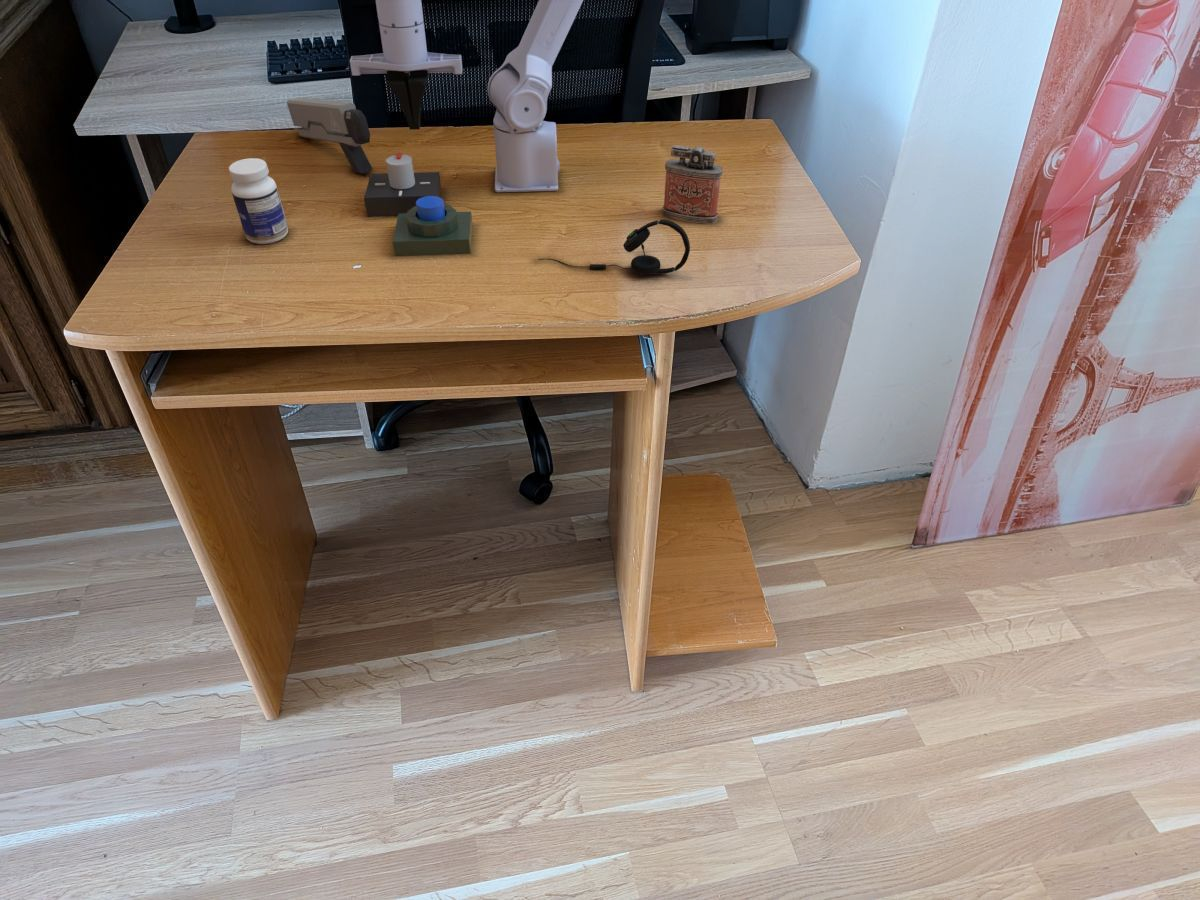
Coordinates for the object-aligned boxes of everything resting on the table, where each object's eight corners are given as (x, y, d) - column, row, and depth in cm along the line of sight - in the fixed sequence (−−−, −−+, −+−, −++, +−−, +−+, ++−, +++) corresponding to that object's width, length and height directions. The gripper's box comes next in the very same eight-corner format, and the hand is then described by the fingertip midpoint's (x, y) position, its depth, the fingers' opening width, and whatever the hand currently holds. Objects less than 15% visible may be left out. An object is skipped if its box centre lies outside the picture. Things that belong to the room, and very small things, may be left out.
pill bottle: (244, 229, 116) (223, 159, 109) (286, 222, 117) (268, 153, 111) (247, 248, 112) (225, 177, 105) (291, 241, 113) (272, 170, 107)
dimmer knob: (414, 189, 119) (410, 162, 116) (388, 189, 118) (384, 163, 116) (416, 178, 121) (412, 152, 119) (391, 178, 121) (386, 152, 119)
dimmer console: (441, 190, 125) (439, 170, 123) (438, 215, 119) (435, 194, 117) (374, 192, 125) (370, 172, 122) (367, 217, 119) (363, 196, 117)
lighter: (719, 215, 120) (727, 147, 113) (714, 225, 118) (721, 156, 111) (665, 206, 122) (670, 139, 115) (659, 216, 120) (663, 148, 113)
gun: (370, 177, 126) (350, 107, 120) (304, 162, 143) (284, 100, 138) (385, 172, 127) (366, 103, 121) (317, 158, 144) (298, 96, 139)
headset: (565, 281, 118) (701, 247, 110) (552, 305, 112) (693, 271, 104) (547, 237, 114) (686, 198, 106) (532, 259, 109) (677, 221, 101)
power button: (445, 209, 113) (444, 195, 111) (444, 222, 110) (442, 207, 109) (419, 210, 113) (417, 196, 111) (416, 222, 110) (414, 208, 109)
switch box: (472, 225, 117) (469, 199, 114) (470, 254, 111) (467, 226, 108) (400, 228, 116) (396, 201, 114) (394, 256, 111) (390, 228, 108)
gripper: (458, 12, 111) (467, 115, 120) (348, 13, 110) (365, 117, 119) (457, 28, 106) (466, 134, 115) (341, 29, 105) (359, 136, 114)
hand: (415, 126), depth 117 cm, fingers closed
